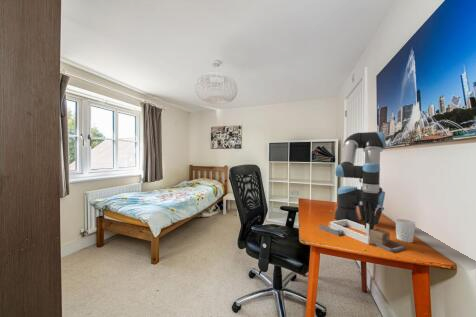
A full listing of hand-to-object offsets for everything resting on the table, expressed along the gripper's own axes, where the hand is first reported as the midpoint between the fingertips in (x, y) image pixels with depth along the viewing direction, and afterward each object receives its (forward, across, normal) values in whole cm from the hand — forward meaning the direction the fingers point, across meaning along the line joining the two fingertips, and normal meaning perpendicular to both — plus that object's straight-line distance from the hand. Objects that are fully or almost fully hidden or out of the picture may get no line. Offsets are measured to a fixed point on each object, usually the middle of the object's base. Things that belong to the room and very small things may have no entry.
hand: (368, 235), depth 102 cm
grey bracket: (+2, +9, 0) cm, 9 cm away
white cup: (+2, +7, +17) cm, 19 cm away
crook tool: (+2, -15, -11) cm, 19 cm away
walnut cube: (+2, +5, 0) cm, 5 cm away
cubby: (+2, -7, 0) cm, 8 cm away
